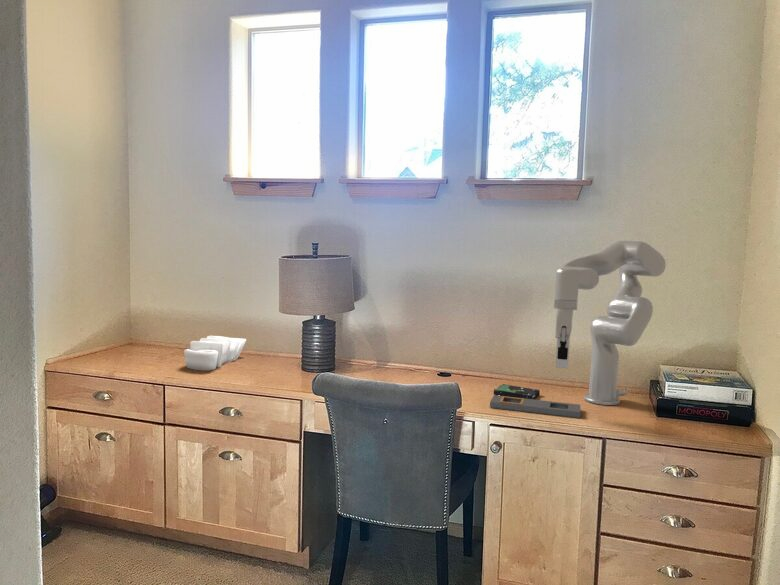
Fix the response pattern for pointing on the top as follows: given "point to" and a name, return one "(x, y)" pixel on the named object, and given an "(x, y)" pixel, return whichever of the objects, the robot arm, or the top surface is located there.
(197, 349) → the wavy white extrusion
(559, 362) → the peg
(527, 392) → the disk drive
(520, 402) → the grey slotted board
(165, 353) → the top surface
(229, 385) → the top surface
